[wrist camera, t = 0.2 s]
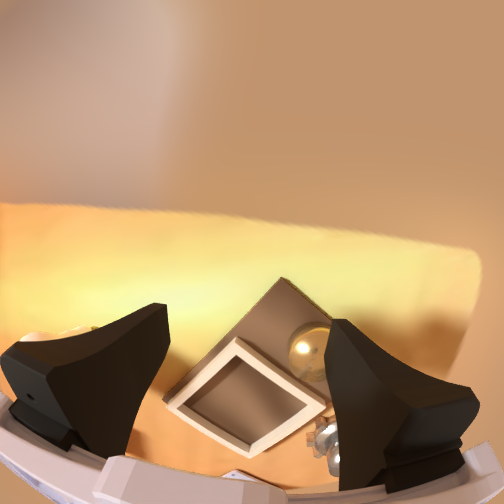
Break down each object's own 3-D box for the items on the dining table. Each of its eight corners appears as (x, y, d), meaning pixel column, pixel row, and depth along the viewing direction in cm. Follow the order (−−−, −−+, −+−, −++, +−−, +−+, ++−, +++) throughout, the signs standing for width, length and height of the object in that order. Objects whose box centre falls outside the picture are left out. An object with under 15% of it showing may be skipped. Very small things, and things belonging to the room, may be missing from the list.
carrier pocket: (250, 451, 24) (249, 458, 23) (169, 400, 24) (165, 407, 22) (324, 399, 22) (326, 407, 21) (236, 335, 22) (234, 342, 21)
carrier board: (251, 452, 25) (250, 455, 24) (163, 397, 24) (161, 399, 24) (374, 358, 22) (376, 360, 22) (280, 276, 22) (281, 278, 21)
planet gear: (335, 458, 24) (342, 491, 19) (291, 436, 24) (293, 473, 19) (385, 422, 23) (400, 454, 18) (345, 395, 23) (359, 432, 17)
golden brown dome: (312, 374, 22) (316, 390, 20) (276, 347, 22) (277, 362, 19) (348, 341, 21) (356, 355, 19) (313, 311, 21) (318, 323, 19)
